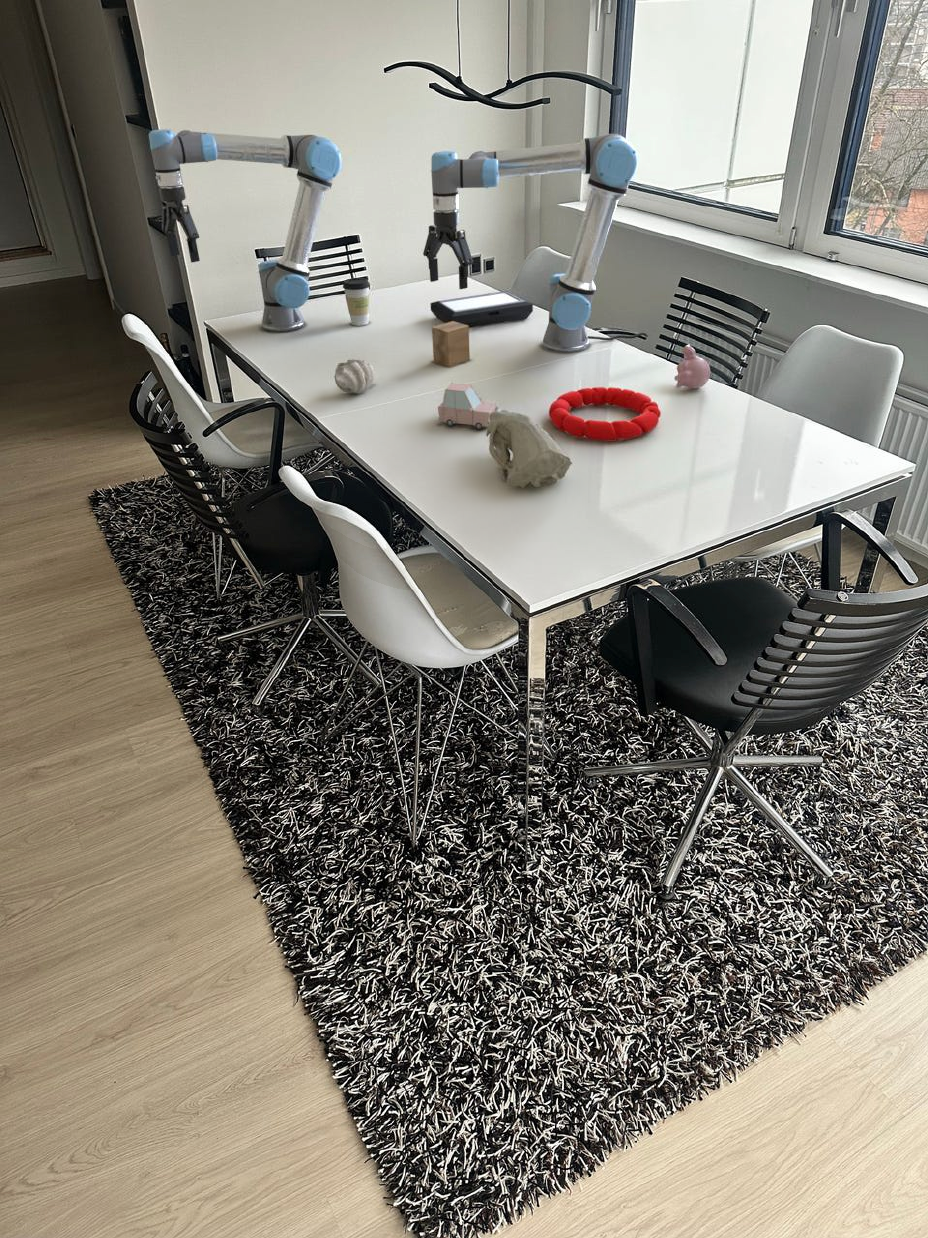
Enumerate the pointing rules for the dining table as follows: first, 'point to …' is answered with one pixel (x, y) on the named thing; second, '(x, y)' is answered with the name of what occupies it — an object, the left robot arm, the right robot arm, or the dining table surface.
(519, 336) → the dining table surface
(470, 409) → the toy car
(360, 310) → the coffee cup
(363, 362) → the seashell
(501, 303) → the electronic device
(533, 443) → the animal skull
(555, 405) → the decorative ring
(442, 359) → the brown wooden block
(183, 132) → the left robot arm
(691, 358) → the figurine
